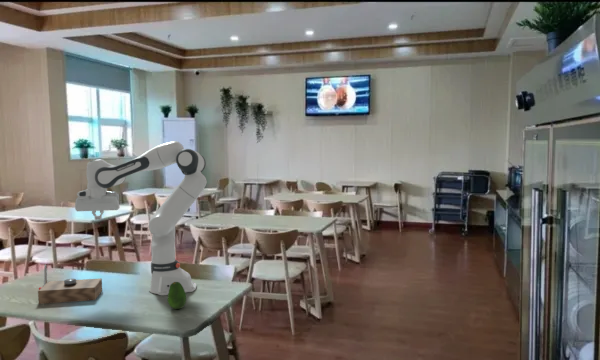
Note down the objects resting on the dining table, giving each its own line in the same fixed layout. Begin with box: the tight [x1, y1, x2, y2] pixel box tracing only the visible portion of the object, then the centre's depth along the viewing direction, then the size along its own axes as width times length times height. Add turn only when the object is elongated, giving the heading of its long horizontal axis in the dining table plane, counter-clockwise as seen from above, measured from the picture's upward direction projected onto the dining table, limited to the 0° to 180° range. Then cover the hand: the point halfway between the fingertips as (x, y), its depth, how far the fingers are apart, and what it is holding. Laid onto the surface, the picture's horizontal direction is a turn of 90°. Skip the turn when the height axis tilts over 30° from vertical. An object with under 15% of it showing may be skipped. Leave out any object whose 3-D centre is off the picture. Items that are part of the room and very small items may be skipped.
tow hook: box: [38, 264, 48, 290], centre depth 229 cm, size 8×13×9 cm
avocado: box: [167, 282, 187, 310], centre depth 199 cm, size 8×8×12 cm
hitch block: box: [37, 278, 103, 305], centre depth 216 cm, size 24×14×6 cm, turn 101°
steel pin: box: [63, 278, 77, 286], centre depth 215 cm, size 5×5×8 cm
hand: (98, 219), depth 228 cm, fingers closed
